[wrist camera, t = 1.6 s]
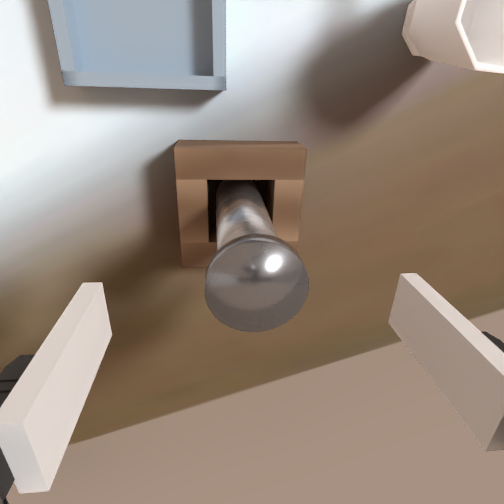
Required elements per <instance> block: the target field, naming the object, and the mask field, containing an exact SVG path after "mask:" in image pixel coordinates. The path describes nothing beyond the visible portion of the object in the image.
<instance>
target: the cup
mask: <svg viewBox="0 0 504 504" xmlns="http://www.w3.org/2000/svg"><path fill="white" fill-rule="evenodd" d="M402 36H403V38H404V40H405V42H406V44H407V46H408V48H409V50H410V52H411V54H412V55H414V56H422V57H424V58H426V59H428V60H430V61H432V62H437V63H443V64H448V65H453V66H457V67H462V68H467V69H472V70H478V71H487V72H496V73H504V0H413V1H412V2H411V3H410V4H409V5H408V9H407V13H406V17H405V21H404V25H403V30H402Z"/></svg>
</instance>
